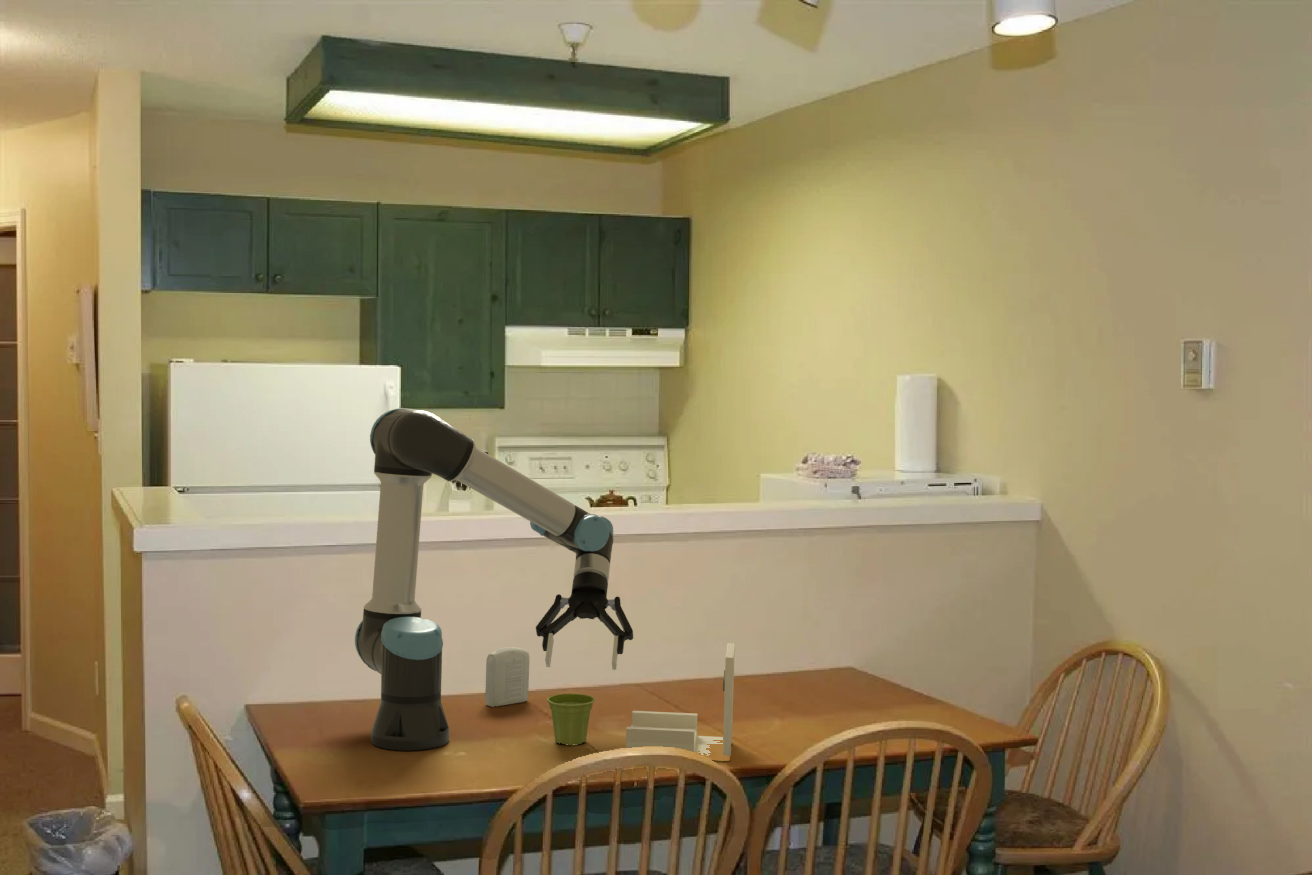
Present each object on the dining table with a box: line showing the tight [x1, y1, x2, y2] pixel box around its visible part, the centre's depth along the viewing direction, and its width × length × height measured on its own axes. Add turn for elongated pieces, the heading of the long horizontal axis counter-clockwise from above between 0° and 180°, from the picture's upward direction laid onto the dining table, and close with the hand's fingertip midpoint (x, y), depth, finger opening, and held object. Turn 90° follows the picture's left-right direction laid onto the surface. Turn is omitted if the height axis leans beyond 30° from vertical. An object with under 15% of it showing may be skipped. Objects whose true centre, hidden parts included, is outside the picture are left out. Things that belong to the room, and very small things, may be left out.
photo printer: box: [484, 646, 530, 708], centre depth 308 cm, size 10×4×12 cm, turn 134°
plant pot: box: [546, 692, 596, 746], centre depth 278 cm, size 9×9×9 cm
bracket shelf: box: [625, 642, 736, 757], centre depth 275 cm, size 14×20×20 cm
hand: (580, 664), depth 287 cm, fingers open, 13 cm apart
